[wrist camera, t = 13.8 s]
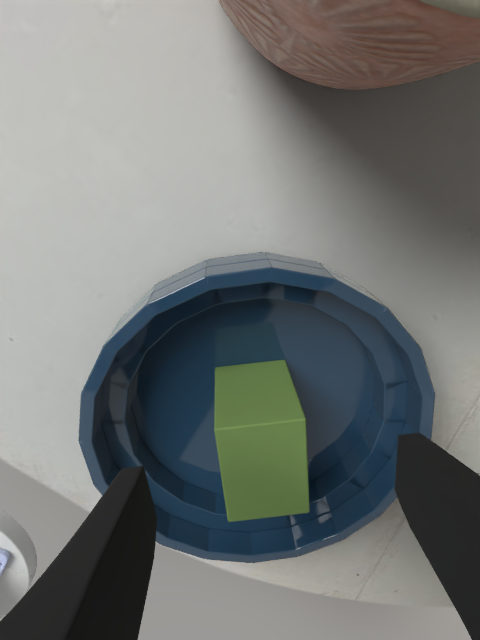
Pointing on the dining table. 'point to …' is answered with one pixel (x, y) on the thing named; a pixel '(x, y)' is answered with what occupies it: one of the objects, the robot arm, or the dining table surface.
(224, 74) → the dining table surface
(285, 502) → the scrub pad
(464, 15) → the planter
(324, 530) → the bowl
